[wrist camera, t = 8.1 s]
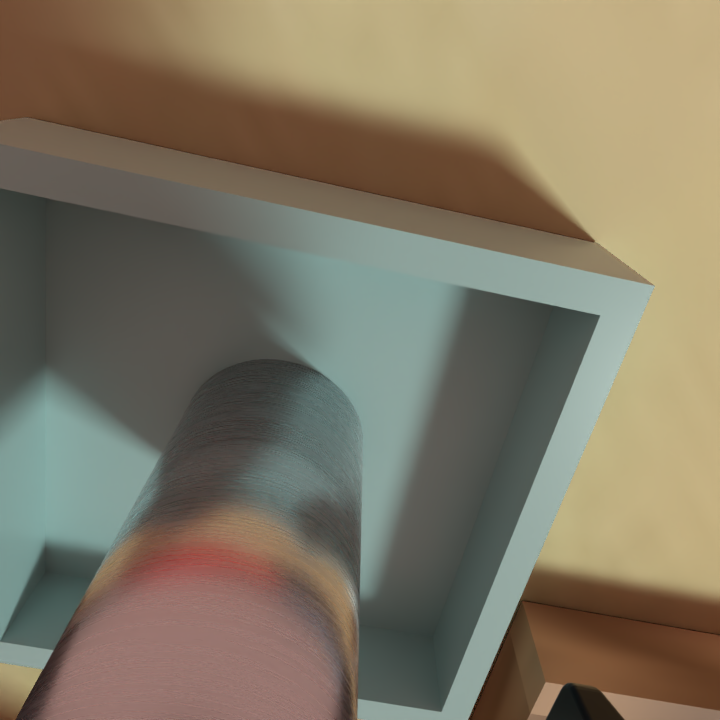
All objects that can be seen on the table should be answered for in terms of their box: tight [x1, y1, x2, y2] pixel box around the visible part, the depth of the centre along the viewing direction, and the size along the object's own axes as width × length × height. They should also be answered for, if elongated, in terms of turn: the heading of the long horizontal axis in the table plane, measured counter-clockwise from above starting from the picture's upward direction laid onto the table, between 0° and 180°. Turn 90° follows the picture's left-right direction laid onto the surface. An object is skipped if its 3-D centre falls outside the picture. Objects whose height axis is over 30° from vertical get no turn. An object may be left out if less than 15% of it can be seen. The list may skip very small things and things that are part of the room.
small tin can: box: [16, 359, 363, 720], centre depth 8 cm, size 4×4×9 cm
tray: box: [0, 117, 655, 720], centre depth 12 cm, size 10×10×2 cm
